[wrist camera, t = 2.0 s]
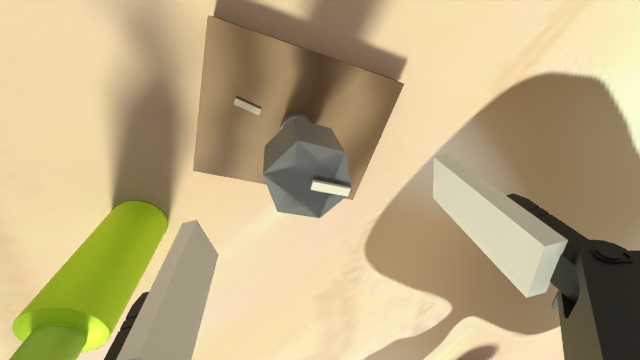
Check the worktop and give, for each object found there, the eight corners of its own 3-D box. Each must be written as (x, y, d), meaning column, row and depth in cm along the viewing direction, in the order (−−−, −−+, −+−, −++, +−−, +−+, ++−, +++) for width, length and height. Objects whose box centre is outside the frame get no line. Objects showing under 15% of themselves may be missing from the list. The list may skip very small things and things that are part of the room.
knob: (258, 175, 20) (254, 210, 16) (272, 112, 18) (272, 136, 14) (327, 188, 22) (340, 223, 18) (349, 133, 20) (368, 159, 16)
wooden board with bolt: (198, 162, 28) (173, 205, 21) (213, 16, 21) (185, 10, 15) (348, 191, 33) (368, 233, 26) (395, 80, 27) (438, 97, 20)
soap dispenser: (120, 185, 28) (-126, 436, 11) (178, 219, 31) (62, 452, 14) (91, 218, 29) (-168, 486, 12) (149, 246, 32) (12, 489, 15)
